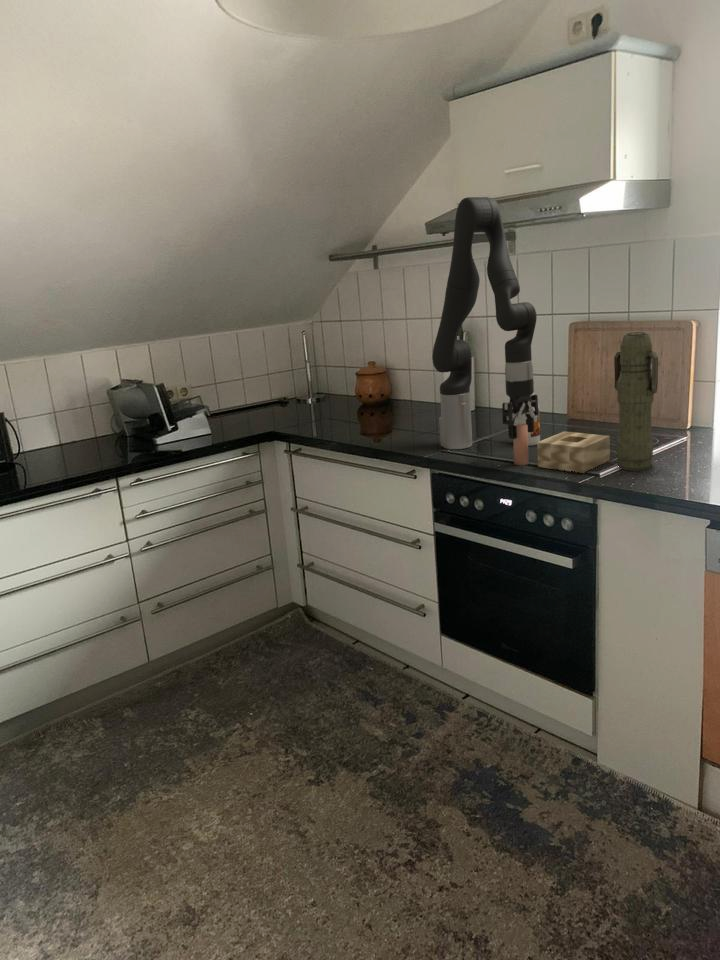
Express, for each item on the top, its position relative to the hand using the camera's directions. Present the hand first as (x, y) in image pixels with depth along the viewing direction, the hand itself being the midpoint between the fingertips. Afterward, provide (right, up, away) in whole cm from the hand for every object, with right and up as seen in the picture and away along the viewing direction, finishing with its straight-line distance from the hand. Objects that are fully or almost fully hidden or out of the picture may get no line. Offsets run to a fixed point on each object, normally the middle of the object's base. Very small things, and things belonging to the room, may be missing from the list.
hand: (521, 435), depth 208 cm
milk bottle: (+7, -1, +23) cm, 24 cm away
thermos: (+28, -9, -10) cm, 31 cm away
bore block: (+14, -8, -3) cm, 16 cm away
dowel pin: (0, -8, +3) cm, 8 cm away
